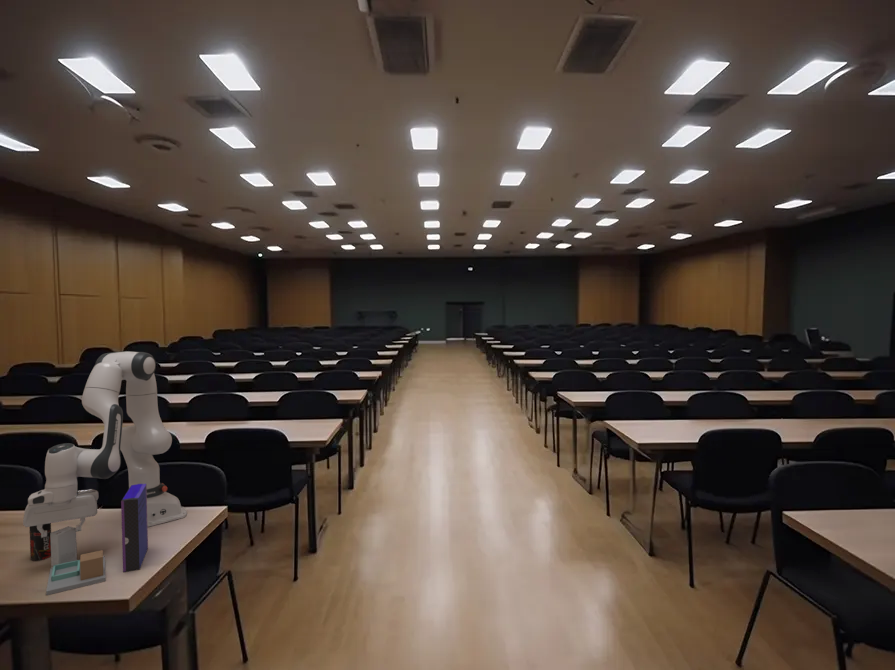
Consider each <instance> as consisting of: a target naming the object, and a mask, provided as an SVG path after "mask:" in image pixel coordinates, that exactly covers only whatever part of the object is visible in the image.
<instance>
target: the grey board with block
mask: <svg viewBox="0 0 895 670" xmlns="http://www.w3.org/2000/svg"><path fill="white" fill-rule="evenodd" d="M103 552H104V550H103V549H102V550H97V551H92V552H88V553H83V554H80V557H79V558H80V559H77V561H72V562H67V563H63V564H58V565H53V567H52V566H51V567H50V570H49V575H48V580H47V586H46V590H45V591H46V595H45V596H49V595H50V596H51V595H53V594H57V593H58V594H59V593H61V592H66V591H70V590H71V591H72V590H74V589H78V588H79V589H80V588H82V587H86V586H91V585H95V583H96V584H99V582H100V583H102V582H103V581H104V582H106V558H105V555H104V553H103Z"/></svg>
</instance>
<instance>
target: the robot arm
mask: <svg viewBox="0 0 895 670" xmlns="http://www.w3.org/2000/svg"><path fill="white" fill-rule="evenodd" d="M156 366H157V363H156V359H155V358H154V356H153V355H152V354H150V353H148V352H146V351H145V352H144V351H129V350H128V351H127V350H126V351H120V352H119V351H117V352H107V353H102V354H101V355H100V356H98V358H97V359H96V361H95V364H94V366H93V368H92V370H91V372H90V374H89V376H88V378H87V379H86V380H87V381H86V383H85V386H84V389H83V393H82V397H81V404H82V406H83V408H84V410H85V411H86V412H87V413H89V414H91V415H92V416H95V417H97V418H98V419H100V420H102V422H103V425H104V429H103V436H102V437H103V438H102V445H101V448H100V449H97V448H96V449H95V448H93V449H92V448H91V449H90V448H82V447H77V446H75V444H74V443H69V442H68V443H67V442H65V443H60V444H56V445H54V446H52V447H50V448H48V450H47V452H46V456H45V461H44V476H45V480H46V481H45V484H44V489H41V490H39V491H36V492H33V493H31V494H30V495H29V497H28V498H27V505H26V507H25V509H24V514H23V520H22V524H23V526H24V527H25V528H28V527H29V528H30V526H36V525H37V529H38V530H39V532H40V533H41V538H43V537H47V530H45V531H44V530H43V529H42V526H43V524H48V523H51V524H54V523H59V522H60V523H61V522H66V521H72V520H77V519H80V520H79V521H80V522H79V524H76V526H75V528H76V533H77V532H81V531H82V527H83V524H84V523H85V521H86V518H91V517H94V516H96V515H97V514H98V504H97V503H98V499H99V495H100V494H99V491H98V490H96V489H94V488H89V489H81V490H78V478H79V477H82V478H94V479H100V480H101V479H102V480H106V479H109V478H111V477H113V476H114V475H115V474H116V473H117V472H118V471H119V469H120V468H121V464H122V455H123V458H124V461H125V464H126V466H127V467H126V468H127V471H128V473H127V474H128V488H127V491H128V490H129V488H130V487H131V485H137V484H146V487H147V527H148V528H149V527H152V526H157V525H160V524H164V523H167V522H172V521H176V520H180V519H183V518H185V517H187V515H188V510H187V509H186V507H184V506H182V505H181V502H180V500H179V498H178V497H177V496H175V495H174V494H171V493H169V492H167V491H168V487H167V485H165V484H164V483H163V482H160V480H161V479H160V476H161V475H160V465H159V463H158V462H157V461H156V460H155V458H154V455H155V456H156V455H160V454H164V453H166V452H167V451H169V449H170V448H171V446H172V442H173V436H172V435H171V433H170V431H168V430H167V429H166V426H165V425H164V423H163V422H162V418H161V417H160V412H159V406H158V403H159V402H158V387H157V385H158V384H157V381H156V380H157V379H156V376H155V371H156V368H157V367H156ZM124 380H125V381H126V386H125V399H126V402H125V403H126V414H127V416H128V417H129V418H130V419H131V421H132V422H133V424H134V425H127V426H123V423H124V421H123V420H124V411H123V408H122V406H120V405H119V396H120V392H121V388H122V387H121V386H122V381H124ZM121 453H122V455H121Z"/></svg>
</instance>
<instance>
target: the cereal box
mask: <svg viewBox="0 0 895 670" xmlns="http://www.w3.org/2000/svg"><path fill="white" fill-rule="evenodd" d="M128 488H129V487H128ZM120 503H121V505H120V506H121V507H120V508H121V509H120V510H121V511H120V513H121V543H122V544H121V545H122V550H121V551H122V573H128V572H129V573H130V572H133V571H135V572H136V571H139V570H141V568H142V565H143V562H144V561H145V560H144V559H145V557H146V555H147V552H148V550H149V539H148V538H149V535H148V530H149V529H148V528H149V527H147V487H146V484H137V485H131V487H130V488H129V490H128V489H127V491H126V493H125V494H124V496H123V498H122V499H121V501H120Z"/></svg>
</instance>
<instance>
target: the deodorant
mask: <svg viewBox="0 0 895 670" xmlns="http://www.w3.org/2000/svg"><path fill="white" fill-rule="evenodd" d="M42 529H43V530H44V531H45V530H47V537H43V538H41V533H40V532H39V530H38V529H37V525H36V526H30V527H29V549H30V550H29V552H30V553H29V554H30V561H33V562H38V561H44V560H47V559H49V558H51V539H50V533H51V532H52V523H48V524H43V526H42Z"/></svg>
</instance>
